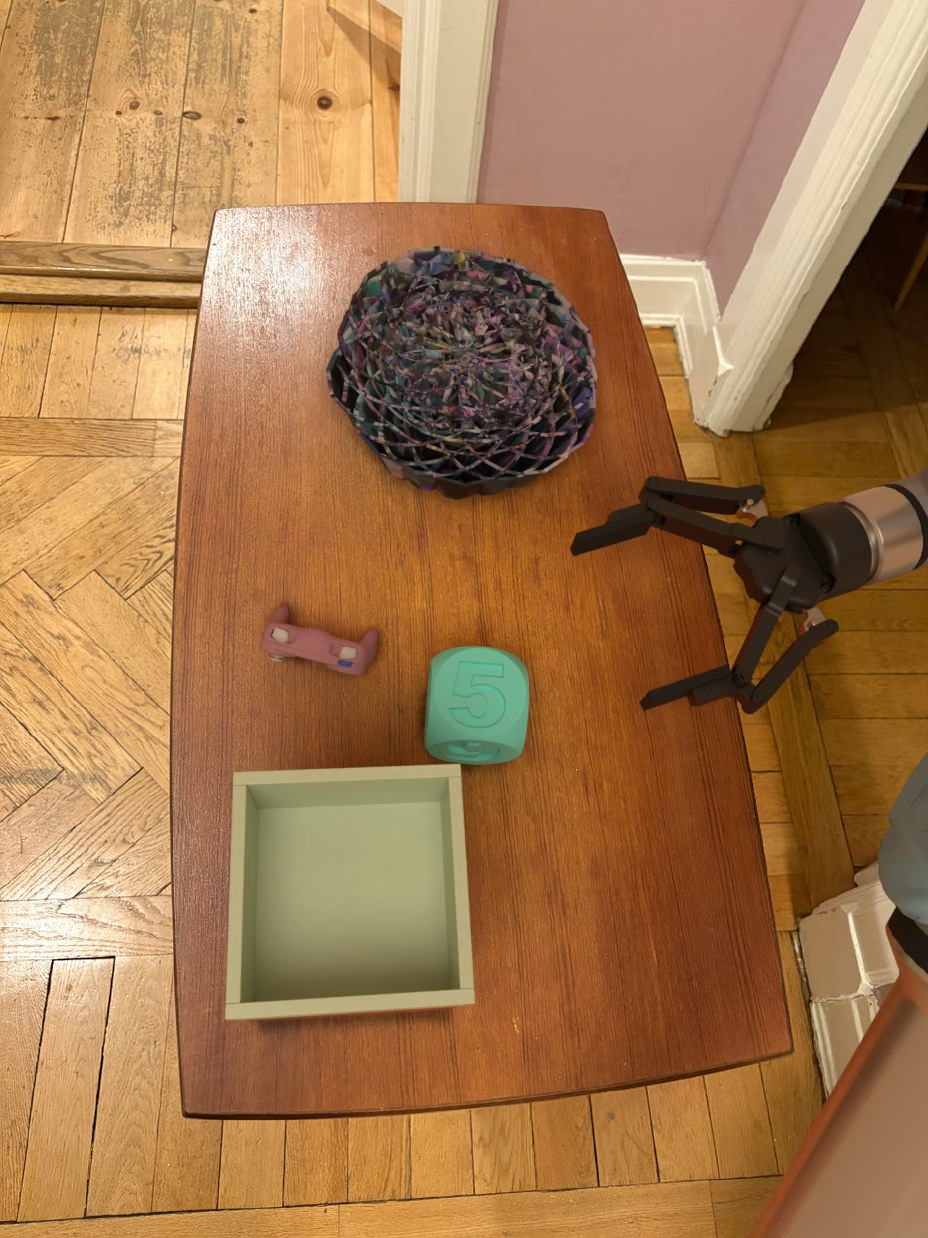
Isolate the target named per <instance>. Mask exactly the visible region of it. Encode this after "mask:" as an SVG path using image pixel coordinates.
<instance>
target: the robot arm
mask: <svg viewBox="0 0 928 1238" xmlns="http://www.w3.org/2000/svg"><path fill="white" fill-rule="evenodd" d="M765 495H766V489H765V487H764V486H762V485H761V484H752V485H745V486H740V487H732V486H725V485H719V484H712V483H705V482H698V481H691V480H685V479H676V478H670V477H662V476H655V475H650V476H648V477H647V478H646V480H645V481H644V483H643V486H642V487H641V490H640V491H639V492H638V496H637V499H638V500H639V503H635V504H633V505H629V506H626V507H622V508H619V509H616V510H613V511H611V512H610V513H609V514H608V516H607V518H606V519H605V522H604V524H602V525H598V526H595V527H591V528H588V529H585V530H582V531H581V530H580V531H577V532H576V533H575V535H574V538H573V539H572V543H571V545H570V547H569V550H570V552H571V555H572V557H576V556H577V557H578V556H580V555H583V554H587V553H591V552H594V551H597V550H600V549H603V548H607V547H609V546H613V545H617V544H620V543H624V542H627V541H629V540H633V539H637V538H640V537H643V536H646V535H647V534H648V533H649V530H650V528H651V527H652V528H654V529H655V528H656V529H658V530H660V531H664V532H666V533H669V534H672V535H674V536H678V537H680V538H683V539H686V540H689V541H691V542H694V543H697V544H700V545H703V546H706V547H708V548H711V549H714V550H716V551H717V553H718V554H719V555H721V556H723V557H726V558H729V559H732V560H733V564H732V568H733V570H734V572H735V573H736V575H737V576H738V577H739V578H740V580H741V582H743V586H744V590H745V593H746V595H747V597H748V599H749V600H751V599H753V600H754V601H755V602H756V603H758V604H759V606H758V608H757V611H756V613H755V615H754V616H753V618H752V623H751V626H750V628H749V630H748V632H747V635H746V637H745V638H744V641H743V643H742V645H741V648H740V649H739V651H738V653H737V655H736V658H735V660H734V662H733V664H732V666H731V668H730V666H729V665H728V663H725V664H724V665H721V666H718V667H715V668H711V669H709V670H706V671H703V672H700V673H697V674H695V675H692V676H689V677H686V678H683V679H679V680H676V681H674V682H670V683H668V684H665V685H662V686H660V687H656V688H654V689H651V690H649V691H647V693H646V694H645V695H644V696H643V697H642V698H641V700H640V701H639V705H640V707H641V709H642V711H643V712H646V711H649V710H652V709H654V708H657V707H661V706H663V705H666V704H669V703H672V702H675V701H677V700H681V699H683V698H686V699H687V701H688V702H689V705H690V707H692V708H693V707H695V708H699V707H702V706H705V705H708V704H711V703H713V702H716V701H719V700H722V699H725V698H732V699H734V700H736V701H737V702H738V703H739V705H740V708H741V711H743V713H744V714H746V715H754V714H755V713H756V712H758V711H759V710H760V709H762V708H763V707H764V706H765V705H766V704H767V703H768V702H770V700H771V699H772V698H773V697H774V695H775V694H776V693H777V692H778V691H779V690H780V689H781V687H782V686H783V685H784V684H785V682H786V681H787V680H788V679H789V677H790V676H791V675H792V674H793V673H794V671H795V670H796V669H797V668H798V667H799V665H800V664H801V663H802V662H803V661H804V659H805V658H806V657H807V656H808V655H809V653H810V652H811V651H812V650H813V649H815V648H817V647H820V646H822V645H824V643H826V642H827V641H828V640H829V639H830V638H831V637H833V636H834V635H835V634H836V633H838V632H839V629H840V625H839V623H838V621H836V620H835V619H833V618H826V617H825V615H824V614H823V612H822V611H821V609H820V608H819V607H818V604H819V603H823V602H826V601H828V600H832V599H834V598H837V597H840V596H843V595H846V594H849V593H852V592H856V591H857V590H860V589H861V588H865V587H868V586H872V585H876V584H879V583H881V582H885V581H887V580H890V579H893V578H897V577H900V576H902V575H905V574H907V573H910V572H913V571H916V570H919V569H922V568H925V567H928V464H926V465H925V466H924V467H923V468H922V469H921V470H919V471H918V472H916V473H915V474H912V475H910V476H907V477H903V478H900V479H898V480H895V481H892V482H888V483H885V484H881V485H879V486H876V487H872V488H869V489H865V490H861V491H859V492H856V493H855V492H854V493H852V494H849V495H845V496H841V497H839V498H836V499H834V500H832V501H827V502H823V503H819V504H816V505H813V506H810V507H806V508H803V509H800V510H796V511H794V512H791V513H789V514H786V515H782V516H773V515H769V513H768V511H767V509H766V506H765V504H764V501H763V498H764V497H765ZM705 513H707V514H705ZM708 514H714V515H721V516H733V515H734V516H735V515H736V518H737V519H739V520H742V519H749V520H750V521H751V522H752V525H751V526H750V525H746V524H745V523H742V522H727V521H725V520H722V519H719V518H717V517H714V516H710V515H708ZM739 541H740V542H741V543H740V544H739V543H737V542H739ZM783 612H786V613H789V614H790V613H791V614H794V615H799V616H802V618H803V619H802V623H801V624H800V625H799V626H798V635H799V637H798V638H797V639H796V640H794V641H793V642H792V643H791V644H790V645H789V646H788V647H787V649H786V650H784V652H783V653H782V655H781V656H780V657H779V658H778V659H777V660H776V662H775V663H774V664H773V665H772V667H770V669H769V670H768V671H767V672H766V673H765V675H763V676H762V678H761V679H760V680H759V682H758V683H756V685H755V684H754V683H753V682H752V681H753V680H754V678H753V675H754V673H755V671H756V669H757V667H758V665H759V662H760V660H761V658H762V656H763V654H764V651H765V649H766V647H767V645H768V643H769V640H770V639H771V636H772V634H773V632H774V630H775V627H776V626H777V623H778V621H779V619H780V617H781V615H782V614H783ZM887 821H888V823H889V825H890V826H889V828H888V829H887V831H886V832H885V833H884V834H882V836H881V838H880V844H879V848H878V853H877V873H878V879H879V882H880V884H881V888H882V890H883V892H884V895H886V896H887V898H888V899H889V900H890V901H891V902H892V903H893V904H894V906H895V907H894V909H893V911H892V913H891V914H890V916H889V918H888V920H887V922H886V924H885V927H884V929H885V935H886V938H887V941H888V944H889V946H890V949H891V951H892V955H893V958H894V960H895V963H896V967H897V969H898V976H897V978H896V979H895V981H894V983H893V984H892V986H891V987H890V990H889V991H888V993H887V994H886V996H885V998H884V1000H883V1002H882V1004H881V1005H880V1007H879V1009H878V1011H877V1012H876V1014H875V1016H874V1017H873V1019H872V1021H871V1022H870V1024H869V1026H868V1027H867V1029H866V1031H865V1032H864V1035H863V1036H862V1038H861V1040H860V1042H858V1043H859V1044H858V1045H857V1047H856V1048H855V1050H854V1052H853V1053H852V1056H851V1057H850V1059H849V1061H848V1062H847V1064H846V1066H845V1068H844V1069H843V1071H842V1072H841V1074H840V1077H839V1078H838V1079H837V1082H836V1083H835V1084H834V1087H833V1088H832V1090H831V1092H830V1093H829V1095H828V1097H827V1099H826V1101H825V1102H824V1104H823V1105H822V1108H821V1109H820V1111H819V1113H818V1114H817V1116H816V1118H815V1119H814V1121H813V1123H812V1125H811V1126H810V1128H809V1130H808V1131H807V1133H806V1135H805V1137H804V1139H803V1140H802V1142H801V1144H800V1146H799V1147H798V1149H797V1151H796V1153H794V1156H793V1158H792V1160H791V1161H790V1163H789V1164H788V1166H787V1168H786V1170H785V1172H784V1174H783V1175H782V1177H781V1178H780V1180H779V1182H778V1184H777V1185H776V1187H775V1189H774V1191H773V1193H772V1194H771V1196H770V1197H769V1200H768V1201H767V1202H766V1205H765V1206H764V1208H763V1209H762V1211H761V1213H760V1215H759V1216H758V1219H757V1220H756V1222H755V1224H754V1225H753V1227H752V1228H751V1230H750V1232H749V1234H748V1235H747V1237H746V1238H928V752H926V753H925V755H924V756H923V757H922V758H921V760H920V761H919V763H918V764H917V765H916V766H915V768H914V769H913V770H912V772H911V773H910V775H909V776H908V778H907V779H906V781H905V783H904V785H903V786H902V788H901V789H900V792H899V793H898V795H897V796H896V799H895V800H894V802H893V805H892V807H891V809H890V811H889V814H888V816H887Z"/></svg>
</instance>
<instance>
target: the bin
mask: <svg viewBox="0 0 928 1238" xmlns="http://www.w3.org/2000/svg"><path fill="white" fill-rule="evenodd" d="M231 800H232V801H231V803H232V805H231V833H230V861H229V862H230V863H229V887H228V889H229V892H228V916H227V917H228V919H227V920H228V921H227V949H226V950H227V952H226V979H225V980H226V981H225V1006H224V1020H225V1021H226V1020H227V1021H247V1020H257V1019H272V1018H288V1017H303V1016H319V1015H334V1014H349V1013H365V1012H380V1011H396V1010H411V1009H426V1008H442V1007H455V1008H458V1007H457V1006H460V1007H465V1006H470V1005H474V1004H476V995H475V993H476V992H475V991H476V990H475V978H474V976H475V975H474V962H473V961H474V960H473V958H474V957H473V945H472V944H473V943H472V942H473V941H472V930H471V929H472V928H471V927H472V926H471V909H470V895H469V878H468V860H467V846H466V845H467V843H466V829H465V828H466V827H465V814H464V813H465V811H464V797H463V779H462V763H445V764H444V763H442V764H416V765H415V764H413V765H388V766H384V765H383V766H360V767H359V766H358V767H335V768H305V769H283V770H282V769H279V770H277V769H276V770H275V769H274V770H251V771H250V770H249V771H233V773H232V799H231Z"/></svg>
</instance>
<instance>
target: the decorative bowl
mask: <svg viewBox="0 0 928 1238" xmlns="http://www.w3.org/2000/svg"><path fill="white" fill-rule="evenodd" d="M342 317H343V318H342V320H341V323H340V325H339V326H338V329H337V332H336V336H337V339H338V346H337V348H336V349H335V350H334V351H333V352H332V355H331V357H330V359H329V361H328V364H327V366H326V369H325V374H326V381H327V388H328V395H329V396H330V398H331V399H332V400H333V401H334V402H335V403H336V404H337V406H338V407H340V409H341V410H342V411H343V412H344V413H345V414H347V416H348V418H349V421H350V423H351V425H352V427H354V428H355V429H356V433H357V434H358V436H359V437H360V438H361V439H362V440H363V442H364V443H365V444H366V445H367V446H368V447H369V448H370V450H371V451H372V452H373V453H374V454H375V455H376V456H377V457H378V459H379V460H380V462H381V464H382V465H383V466H384V467H385V469H386V470H387V471H388V472H389V473H390V474H391V476H393V477H395V478H396V479H398V480H401V481H409V483H410V484H411V485H413V486H414V487H416V488H417V489H419V490H420V491H436V490H438V491H439V492H440V493H441V494H442V495H443V496H444V497H445V498H448V499H452V500H456V501H457V500H461V499H465V498H468V497H471V496H473V495H475V493H476V494H478V495H480V496H491V495H497V494H498V493H501V492H502V491H503V490H507V491H512V490H513V491H514V490H517V489H523V487H525V486H527V485H528V484H529V483H530V482H532V481H533V480H535V479H536V478H538V477H539V476H540V475H542V474H546V473H547V472H549V471H550V470H552V469H553V468H555V467H556V466H557V465H559V464H561V463H562V462H563V461H565V460H567V459H568V458H569V455H570V454H572V452H575V450H577V449H579V448H580V447H582V446H584V445H585V444H586V443H587V442H588V440H589V438H590V436H591V433H592V431H593V429H594V427H595V423H596V422H595V420H596V419H595V418H596V417H595V416H596V407H597V382H598V381H597V380H598V378H599V377H598V372H597V368H596V366H595V362H594V359H595V357H596V354H597V352H596V348H595V344H594V341H593V337H592V333H591V329H590V328H589V327H588V326H587V325H586V324H585V323H584V322H583V321H582V320H581V319H580V317H579V315H578V312H577V311H576V308H575V306H574V305H573V304H572V303H570V302H569V301H568V299H567V298H566V297H565V296H564V295H563V294H562V293H561V292H560V290H559V289H558V288H557V287H556V285H554V283H553V282H551V280H549V279H547V278H544V277H543V276H541V275H538V274H536V272H534V271H532V270H531V269H529V268H527V267H526V266H524V265H523V264H521V263H519V262H518V261H516V260H514V259H513V258H509V257H503V256H498V255H495V254H491V253H487V252H483V251H480V250H477V249H472V248H469V247H467V248H461V249H453V248H451V247H450V248H449V247H445V246H441V245H434V246H426V247H419V248H410V249H409V250H408V251H406V252H405V253H403V254H401V255H400V256H398V257H396V258H395V259H390V260H385V261H384V262H382V263H380V264H379V265H378V266H376V267H375V268H373V269H372V270H370V271H369V272H367V273H365V274H364V275H363V277H362V280H361V283H360V285H359V287H358V289H357V290H356V291H355V292H353V294H352V295H351V298H350V303H349V307H348V309H347V310H346V311H345V313H344V315H343V316H342Z"/></svg>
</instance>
